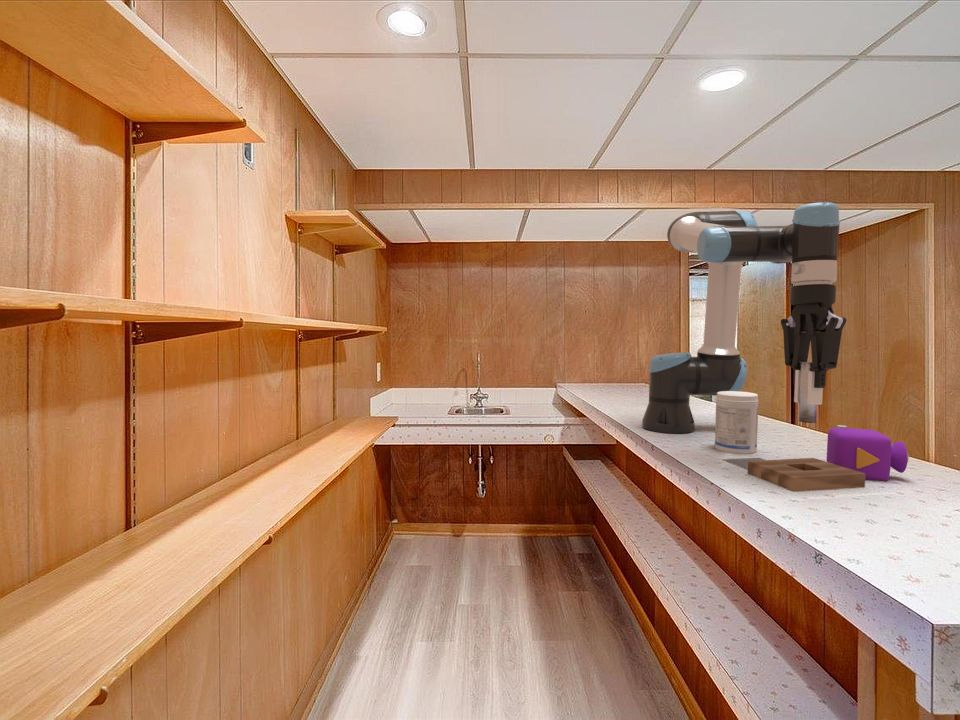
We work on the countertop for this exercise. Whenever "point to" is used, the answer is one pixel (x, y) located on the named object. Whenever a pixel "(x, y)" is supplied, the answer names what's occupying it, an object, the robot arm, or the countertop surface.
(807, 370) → the peg
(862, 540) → the countertop surface
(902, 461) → the toy camera
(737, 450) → the supplement tub
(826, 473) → the socket block
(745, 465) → the mat
